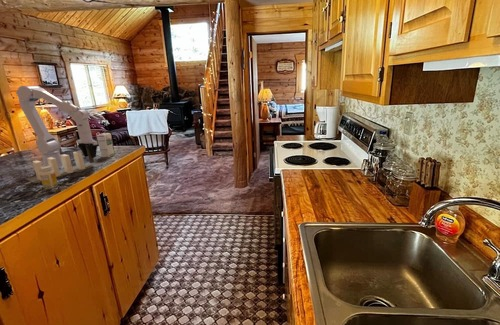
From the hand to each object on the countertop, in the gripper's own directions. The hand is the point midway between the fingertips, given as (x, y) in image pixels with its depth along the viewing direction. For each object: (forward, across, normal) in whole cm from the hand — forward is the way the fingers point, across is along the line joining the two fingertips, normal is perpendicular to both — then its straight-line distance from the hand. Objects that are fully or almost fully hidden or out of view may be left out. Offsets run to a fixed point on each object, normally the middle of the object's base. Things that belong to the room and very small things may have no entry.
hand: (90, 156), depth 146 cm
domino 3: (+5, -2, -12) cm, 13 cm away
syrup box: (+6, -10, +17) cm, 21 cm away
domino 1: (+5, -3, -24) cm, 24 cm away
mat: (+6, -4, -11) cm, 13 cm away
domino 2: (+5, -2, -18) cm, 19 cm away
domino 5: (+3, 0, 0) cm, 3 cm away
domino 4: (+5, -1, -6) cm, 8 cm away
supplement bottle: (+6, +12, -28) cm, 31 cm away
